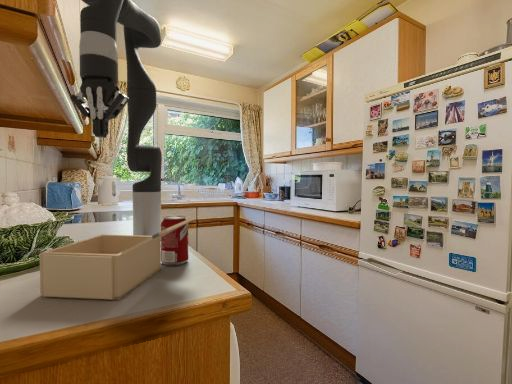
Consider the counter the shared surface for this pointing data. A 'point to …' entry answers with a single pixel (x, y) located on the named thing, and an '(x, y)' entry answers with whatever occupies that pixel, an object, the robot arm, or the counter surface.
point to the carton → (98, 267)
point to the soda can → (174, 241)
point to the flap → (158, 235)
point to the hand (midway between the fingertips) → (100, 137)
